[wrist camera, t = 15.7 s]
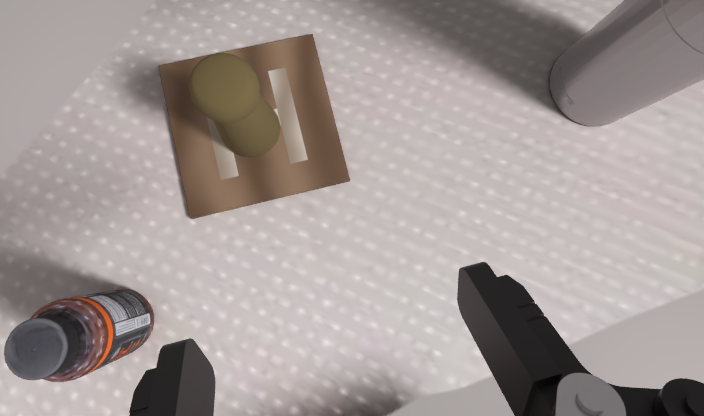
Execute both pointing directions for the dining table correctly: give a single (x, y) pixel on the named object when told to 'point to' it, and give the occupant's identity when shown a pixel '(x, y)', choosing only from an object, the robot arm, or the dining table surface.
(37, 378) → the supplement bottle
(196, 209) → the board
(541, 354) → the robot arm
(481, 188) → the dining table surface
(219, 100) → the olive pawn figure
